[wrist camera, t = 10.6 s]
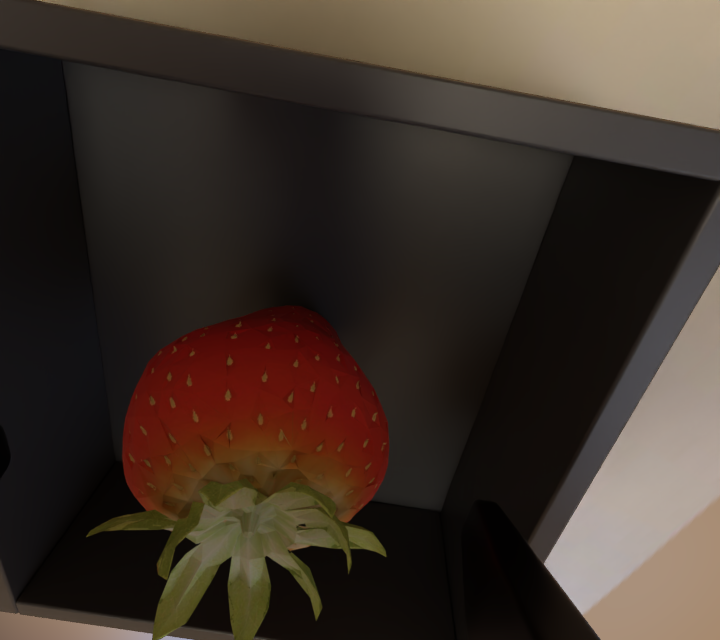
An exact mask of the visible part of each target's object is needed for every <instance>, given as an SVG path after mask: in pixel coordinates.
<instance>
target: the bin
mask: <svg viewBox="0 0 720 640" xmlns="http://www.w3.org/2000/svg"><path fill="white" fill-rule="evenodd" d="M719 265H720V130H718V129H712V128H707V127H702V126H696V125H691V124H686V123H681V122H675V121H670V120H665V119H659V118H654V117H649V116H644V115H638V114H633V113H628V112H623V111H617V110H612V109H607V108H601V107H596V106H591V105H586V104H580V103H575V102H570V101H564V100H559V99H554V98H549V97H543V96H538V95H533V94H528V93H522V92H517V91H512V90H506V89H501V88H496V87H491V86H485V85H480V84H475V83H469V82H464V81H459V80H454V79H448V78H443V77H438V76H433V75H427V74H422V73H417V72H411V71H406V70H401V69H396V68H390V67H385V66H380V65H374V64H369V63H364V62H359V61H353V60H348V59H343V58H338V57H332V56H327V55H322V54H316V53H311V52H306V51H301V50H295V49H290V48H285V47H279V46H274V45H269V44H264V43H258V42H253V41H248V40H243V39H237V38H232V37H227V36H221V35H216V34H211V33H206V32H200V31H195V30H190V29H184V28H179V27H174V26H169V25H163V24H158V23H153V22H148V21H142V20H137V19H132V18H126V17H121V16H116V15H111V14H105V13H100V12H95V11H89V10H84V9H79V8H74V7H68V6H63V5H58V4H53V3H47V2H42V1H37V0H0V425H1V426H2V427H3V429H4V432H5V435H6V439H7V442H8V446H9V449H10V453H11V460H10V464H9V466H8V468H7V470H6V471H5V473H4V474H3V476H2V477H1V479H0V611H2V612H9V613H15V614H16V613H20V614H22V615H29V616H35V617H42V618H49V619H56V620H63V621H70V622H76V623H84V624H90V625H97V626H104V627H111V628H118V629H125V630H132V631H138V632H145V633H152V634H153V628H154V621H155V617H156V612H157V608H158V603H159V601H160V598H161V596H162V593H163V591H164V588H165V586H166V583H167V581H168V579H167V580H166V579H164V578H163V577H161V576H159V575H158V571H157V562H158V560H159V558H160V556H161V554H162V552H163V550H164V548H165V546H166V544H167V541H168V539H169V537H170V535H171V533H172V532H171V531H170V530H165V529H160V530H114V531H101V532H99V533H96V534H93V535H91V536H88V537H86V536H87V535H88V534H89V532H90V531H91V530H92V529H94V528H96V527H98V526H100V525H101V524H103V523H105V522H107V521H109V520H111V519H112V518H115V517H120V516H124V515H130V514H135V513H140V512H145V511H146V509H145V508H144V507H143V506H142V505H141V504H140V502H139V501H138V500H137V499H136V498H135V497H134V495H133V494H132V492H131V490H130V488H129V487H128V485H127V483H126V479H125V475H124V468H123V461H122V450H123V430H124V423H125V417H126V414H127V411H128V407H129V404H130V401H131V398H132V395H133V393H134V390H135V388H136V386H137V384H138V382H139V380H140V378H141V376H142V374H143V372H144V370H145V368H146V366H147V364H148V362H149V361H150V360H151V359H152V358H153V356H154V355H155V354H156V353H157V352H158V351H159V350H160V349H162V348H164V347H165V346H167V345H169V344H170V343H172V342H173V341H175V340H177V339H178V338H180V337H182V336H184V335H186V334H188V333H190V332H192V331H194V330H196V329H200V328H203V327H207V326H210V325H214V324H217V323H220V322H223V321H226V320H229V319H233V318H238V317H242V316H245V315H248V314H250V313H253V312H256V311H258V310H261V309H266V308H271V307H279V306H286V305H289V306H302V307H304V308H306V309H309V310H311V311H314V312H316V313H318V314H319V315H321V316H322V317H323V318H325V319H326V320H327V321H328V322H329V323H330V325H331V326H332V327H333V328H334V329H335V331H336V332H337V335H338V337H339V339H340V341H341V343H342V345H343V346H344V347H345V349H346V350H347V351H348V352H349V354H350V355H351V356H352V357H353V358H354V360H355V361H356V362H357V364H358V365H359V367H360V368H361V370H362V371H363V373H364V374H365V376H366V377H367V379H368V380H369V382H370V383H371V385H372V386H373V388H374V390H375V392H376V394H377V396H378V398H379V401H380V403H381V406H382V408H383V411H384V413H385V416H386V418H387V421H388V433H389V457H388V467H387V470H386V473H385V476H384V479H383V481H382V483H381V485H380V486H379V488H378V490H377V492H376V493H375V495H374V497H373V498H372V499H371V500H370V501H369V502H368V503H367V504H366V505H365V506H364V507H363V508H362V509H361V510H360V511H359V512H358V513H356V514H355V515H354V516H353V517H352V519H351V520H350V521H349V522H347V523H349V524H353V525H357V526H360V527H363V528H365V529H367V530H369V531H371V532H373V533H374V535H375V536H376V538H377V539H378V540H379V542H380V543H381V544H382V546H383V547H384V549H385V551H386V557H385V556H383V555H381V554H379V553H377V552H375V551H371V550H367V549H350V551H351V560H352V565H351V568H350V571H349V574H348V565H347V554H346V553H345V552H344V550H343V549H333V548H326V547H319V546H309V547H305V548H300V549H296V550H291V552H292V553H293V554H294V555H295V556H296V557H298V558H299V559H300V560H301V561H302V562H303V563H304V564H305V565H307V566H308V567H309V568H310V571H311V573H312V576H313V579H314V582H315V585H316V588H317V591H318V594H319V596H320V599H321V604H322V610H321V612H320V614H319V616H318V618H317V621H316V618H315V614H314V610H313V606H312V602H311V598H310V597H309V596H308V594H307V593H306V592H305V591H304V589H303V588H302V587H301V585H300V584H299V583H298V582H297V580H296V579H295V578H294V576H293V575H292V574H291V573H290V571H289V570H287V569H286V568H284V567H283V566H281V565H280V564H278V563H277V562H275V561H274V560H272V559H271V558H270V557H268V556H266V557H265V561H266V566H267V570H268V575H269V579H270V584H271V591H270V600H269V608H268V610H267V613H266V615H265V617H264V619H263V621H262V623H261V625H260V627H259V628H258V630H257V632H256V634H255V636H254V638H253V640H468V637H467V629H466V620H465V605H464V584H463V564H462V543H461V533H462V527H463V524H464V522H465V519H466V517H467V514H468V512H469V510H470V507H471V505H472V503H473V501H474V500H476V499H482V500H488V501H494V502H496V503H497V504H498V505H499V506H500V507H501V509H502V510H503V511H504V513H505V514H506V515H507V516H508V518H509V519H510V520H511V522H512V523H513V524H514V526H515V527H516V528H517V530H518V531H519V532H520V534H521V535H522V536H523V538H524V539H525V540H526V542H527V543H528V544H529V546H530V547H531V548H532V550H533V551H534V552H535V554H536V555H537V556H538V557H539V559H540V560H541V561H542V563H543V564H544V562H545V561H546V559H547V557H548V555H549V554H550V552H551V550H552V549H553V547H554V545H555V544H556V542H557V540H558V539H559V537H560V535H561V533H562V532H563V530H564V528H565V527H566V525H567V523H568V522H569V520H570V518H571V516H572V515H573V513H574V511H575V510H576V508H577V506H578V505H579V503H580V501H581V499H582V498H583V496H584V494H585V493H586V491H587V489H588V488H589V486H590V484H591V483H592V481H593V479H594V477H595V476H596V474H597V472H598V471H599V469H600V467H601V466H602V464H603V462H604V460H605V459H606V457H607V455H608V454H609V452H610V450H611V449H612V447H613V445H614V443H615V442H616V440H617V438H618V437H619V435H620V433H621V432H622V430H623V428H624V427H625V425H626V423H627V421H628V420H629V418H630V416H631V415H632V413H633V411H634V410H635V408H636V406H637V404H638V403H639V401H640V399H641V398H642V396H643V394H644V393H645V391H646V389H647V387H648V386H649V384H650V382H651V381H652V379H653V377H654V376H655V374H656V372H657V371H658V369H659V367H660V365H661V364H662V362H663V360H664V359H665V357H666V355H667V354H668V352H669V350H670V348H671V347H672V345H673V343H674V342H675V340H676V338H677V337H678V335H679V333H680V332H681V330H682V328H683V326H684V325H685V323H686V321H687V320H688V318H689V316H690V315H691V313H692V311H693V309H694V308H695V306H696V304H697V303H698V301H699V299H700V298H701V296H702V294H703V292H704V291H705V289H706V287H707V286H708V284H709V282H710V281H711V279H712V277H713V276H714V274H715V272H716V270H717V269H718V267H719ZM199 544H201V543H199ZM199 544H195V543H194V542H192V541H191V540H189V539H188V538H186V537H185V538H184V539H183V540H182V541H181V542H180V543H179V544H178V545H177V546H176V547H175V551H174V555H173V559H172V563H171V567H170V571H169V575H168V578H169V576H170V573H171V571H172V570H173V569H174V567H175V566H176V565H177V564H178V563H179V561H180V560H181V559H182V558H183V556H184V555H185V554H186V553H187V552H189V551H190V550H192V549H193V548H195V547H196V546H198V545H199ZM231 559H232V556H231V557H230V558H229V559H227V560H226V561H224V562H223V563H221V564H220V566H219V568H218V570H217V572H216V574H215V576H214V578H213V580H212V581H211V583H210V585H209V586H208V588H207V590H206V591H205V593H204V595H203V596H202V598H201V600H200V601H199V603H198V605H197V606H196V608H195V610H194V611H193V613H192V615H191V616H190V618H189V620H188V621H187V623H185V624H184V625H182V626H181V627H179V628H177V629H176V630H174V631H173V632H171V633H169V634H168V635H166V636H173V637H179V638H187V639H193V640H235V639H234V635H233V630H232V626H231V621H230V609H229V596H228V580H229V573H230V566H231Z"/></svg>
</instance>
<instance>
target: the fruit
mask: <svg viewBox="0 0 720 640" xmlns="http://www.w3.org/2000/svg"><path fill="white" fill-rule="evenodd" d="M388 457H389V433H388V421H387V418H386V416H385V413H384V411H383V408H382V406H381V403H380V401H379V398H378V396H377V394H376V392H375V390H374V388H373V386H372V385H371V383H370V382H369V380H368V379H367V377H366V376H365V374H364V373H363V371H362V370H361V368H360V367H359V365H358V364H357V362H356V361H355V360H354V358H353V357H352V356H351V355H350V354H349V352H348V351H347V350H346V349H345V347H344V346H343V345H342V343H341V341H340V339H339V337H338V335H337V332H336V331H335V329H334V328H333V327H332V326H331V325H330V323H329V322H328V321H327V320H326V319H325V318H323V317H322V316H321V315H319V314H318V313H316V312H314V311H311V310H309V309H306V308H304V307H302V306H289V305H286V306H279V307H271V308H266V309H261V310H258V311H256V312H253V313H250V314H248V315H245V316H242V317H238V318H233V319H229V320H226V321H223V322H220V323H217V324H214V325H210V326H207V327H203V328H200V329H196V330H194V331H192V332H190V333H188V334H186V335H184V336H182V337H180V338H178V339H177V340H175V341H173V342H172V343H170V344H169V345H167V346H165V347H164V348H162V349H160V350H159V351H158V352H157V353H156V354H155V355H154V356H153V358H152V359H151V360H150V361H149V362H148V364H147V366H146V368H145V370H144V372H143V374H142V376H141V378H140V380H139V382H138V384H137V386H136V388H135V390H134V393H133V395H132V398H131V401H130V404H129V407H128V411H127V414H126V417H125V423H124V430H123V450H122V461H123V468H124V475H125V479H126V483H127V485H128V487H129V488H130V490H131V492H132V494H133V495H134V497H135V498H136V499H137V500H138V501H139V502H140V504H141V505H142V506H143V507H144V508H145V509H146V511H145V512H140V513H135V514H130V515H124V516H120V517H115V518H112V519H111V520H109V521H107V522H105V523H103V524H101V525H100V526H98V527H96V528H94V529H92V530H91V531H90V532H89V534H88V535H87V536H86V537H88V536H91V535H93V534H96V533H99V532H101V531H114V530H160V529H165V530H170V531H171V532H172V533H171V535H170V537H169V539H168V541H167V544H166V546H165V548H164V550H163V552H162V554H161V556H160V558H159V560H158V562H157V571H158V575H159V576H161V577H163V578H164V579H166V580H167V579H168V581H167V583H166V586H165V588H164V591H163V593H162V596H161V598H160V601H159V603H158V608H157V612H156V617H155V621H154V628H153V638H152V640H159V639H161V638H163V637H165V636H166V635H168V634H169V633H171V632H173V631H174V630H176V629H177V628H179V627H181V626H182V625H184V624H185V623H187V621H188V620H189V618H190V616H191V615H192V613H193V611H194V610H195V608H196V606H197V605H198V603H199V601H200V600H201V598H202V596H203V595H204V593H205V591H206V590H207V588H208V586H209V585H210V583H211V581H212V580H213V578H214V576H215V574H216V572H217V570H218V568H219V566H220V564H221V563H223V562H224V561H226V560H227V559H229V558H230V557H231V556H232V559H231V566H230V573H229V580H228V596H229V609H230V621H231V626H232V630H233V635H234V639H235V640H253V638H254V636H255V634H256V632H257V630H258V628H259V627H260V625H261V623H262V621H263V619H264V617H265V615H266V613H267V610H268V608H269V600H270V591H271V584H270V579H269V575H268V570H267V566H266V561H265V557H266V556H268V557H270V558H271V559H272V560H274V561H275V562H277V563H278V564H280V565H281V566H283V567H284V568H286V569H287V570H289V571H290V573H291V574H292V575H293V576H294V578H295V579H296V580H297V582H298V583H299V584H300V585H301V587H302V588H303V589H304V591H305V592H306V593H307V594H308V596H309V597H310V598H311V602H312V606H313V610H314V614H315V618H316V621H317V618H318V616H319V614H320V612H321V610H322V604H321V599H320V596H319V594H318V591H317V588H316V585H315V582H314V579H313V576H312V573H311V571H310V568H309V567H308V566H307V565H305V564H304V563H303V562H302V561H301V560H300V559H299V558H298V557H296V556H295V555H294V554H293V553H292V552H291V550H296V549H300V548H305V547H309V546H319V547H326V548H333V549H343V550H344V552H345V553H346V554H347V565H348V574H349V571H350V568H351V565H352V560H351V551H350V549H367V550H371V551H375V552H377V553H379V554H381V555H383V556H385V557H386V551H385V549H384V547H383V546H382V544H381V543H380V542H379V540H378V539H377V538H376V536H375V535H374V533H373V532H371V531H369V530H367V529H365V528H363V527H360V526H357V525H353V524H349V523H347V522H349V521H350V520H351V519H352V517H353V516H354V515H355V514H356V513H358V512H359V511H360V510H361V509H362V508H363V507H364V506H365V505H366V504H367V503H368V502H369V501H370V500H371V499H372V498H373V497H374V495H375V493H376V492H377V490H378V488H379V486H380V485H381V483H382V481H383V479H384V476H385V473H386V470H387V467H388ZM185 537H186V538H188V539H189V540H191V541H192V542H194V543H195V544H199V543H201V544H199V545H198V546H196V547H195V548H193V549H192V550H190V551H189V552H187V553H186V554H185V555H184V556H183V558H182V559H181V560H180V561H179V563H178V564H177V565H176V566H175V567H174V569H173V570H172V571H171V573H170V576H169V578H168V575H169V571H170V567H171V563H172V559H173V555H174V551H175V547H176V546H177V545H178V544H179V543H180V542H181V541H182V540H183V539H184V538H185Z"/></svg>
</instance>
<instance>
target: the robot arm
mask: <svg viewBox="0 0 720 640" xmlns="http://www.w3.org/2000/svg"><path fill="white" fill-rule="evenodd" d="M10 460H11V453H10V449H9V446H8V442H7V439H6V435H5V432H4V429H3V427H2V426H1V425H0V479H1V477H2V476H3V474H4V473H5V471H6V470H7V468H8V466H9V464H10ZM461 543H462V564H463V584H464V605H465V620H466V629H467V637H468V640H600V638H599V637H598V636H597V634H596V633H595V632H594V630H593V629H592V628H591V626H590V625H589V624H588V622H587V621H586V620H585V618H584V617H583V616H582V614H581V613H580V612H579V610H578V609H577V608H576V606H575V605H574V604H573V602H572V601H571V600H570V599H569V597H568V596H567V595H566V593H565V592H564V591H563V589H562V588H561V587H560V585H559V584H558V583H557V581H556V580H555V579H554V577H553V576H552V575H551V573H550V572H549V571H548V569H547V568H546V567H545V565H544V564H543V563H542V561H541V560H540V559H539V557H538V556H537V555H536V554H535V552H534V551H533V550H532V548H531V547H530V546H529V544H528V543H527V542H526V540H525V539H524V538H523V536H522V535H521V534H520V532H519V531H518V530H517V528H516V527H515V526H514V524H513V523H512V522H511V520H510V519H509V518H508V516H507V515H506V514H505V513H504V511H503V510H502V509H501V507H500V506H499V505H498V504H497V503H496V502H494V501H488V500H482V499H476V500H474V501H473V503H472V505H471V507H470V510H469V512H468V514H467V517H466V519H465V522H464V524H463V527H462V533H461Z"/></svg>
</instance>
